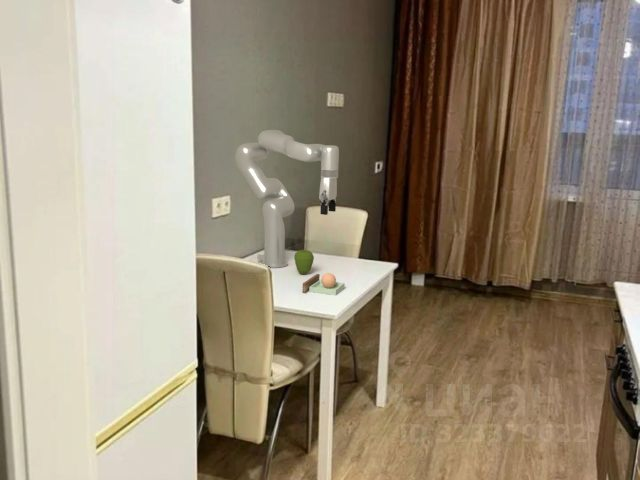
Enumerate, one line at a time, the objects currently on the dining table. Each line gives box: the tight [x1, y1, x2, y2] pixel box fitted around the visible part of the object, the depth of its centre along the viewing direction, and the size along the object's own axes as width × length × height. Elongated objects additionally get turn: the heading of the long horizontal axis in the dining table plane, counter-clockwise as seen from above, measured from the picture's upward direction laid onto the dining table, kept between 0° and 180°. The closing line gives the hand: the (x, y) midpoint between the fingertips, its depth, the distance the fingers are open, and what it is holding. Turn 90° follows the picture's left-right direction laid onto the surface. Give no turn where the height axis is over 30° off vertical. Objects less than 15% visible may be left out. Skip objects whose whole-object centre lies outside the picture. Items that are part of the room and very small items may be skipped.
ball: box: [320, 272, 337, 288], centre depth 247 cm, size 6×6×6 cm
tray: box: [308, 279, 346, 296], centre depth 246 cm, size 11×11×2 cm
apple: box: [293, 249, 315, 275], centre depth 269 cm, size 9×8×12 cm
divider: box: [302, 273, 321, 294], centre depth 249 cm, size 1×16×4 cm, turn 159°
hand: (328, 212), depth 266 cm, fingers open, 9 cm apart
